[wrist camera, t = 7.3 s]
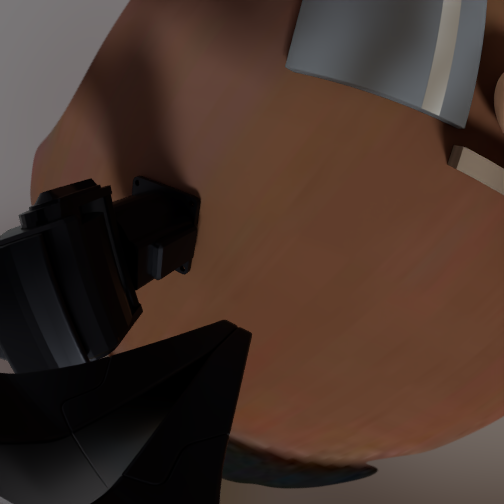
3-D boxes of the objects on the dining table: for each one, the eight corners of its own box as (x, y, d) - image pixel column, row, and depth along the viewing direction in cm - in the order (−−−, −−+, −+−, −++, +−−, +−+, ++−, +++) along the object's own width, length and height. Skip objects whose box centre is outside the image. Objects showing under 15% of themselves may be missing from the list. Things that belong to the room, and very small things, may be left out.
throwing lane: (284, 105, 17) (269, 101, 14) (335, -90, 9) (326, -109, 7) (560, 232, 11) (577, 246, 9) (593, 24, 3) (608, 17, 1)
